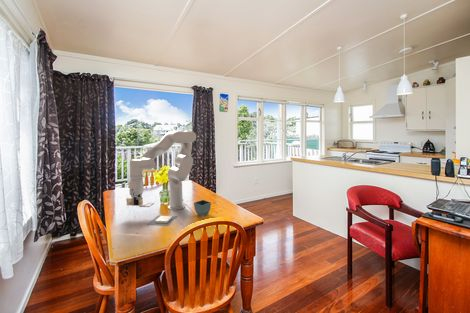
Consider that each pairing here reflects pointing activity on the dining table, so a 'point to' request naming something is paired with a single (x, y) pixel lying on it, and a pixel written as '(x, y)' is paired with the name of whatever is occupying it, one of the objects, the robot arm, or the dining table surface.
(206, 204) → the flower pot
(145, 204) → the turner
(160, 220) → the tile
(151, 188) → the dining table surface
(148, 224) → the mat
